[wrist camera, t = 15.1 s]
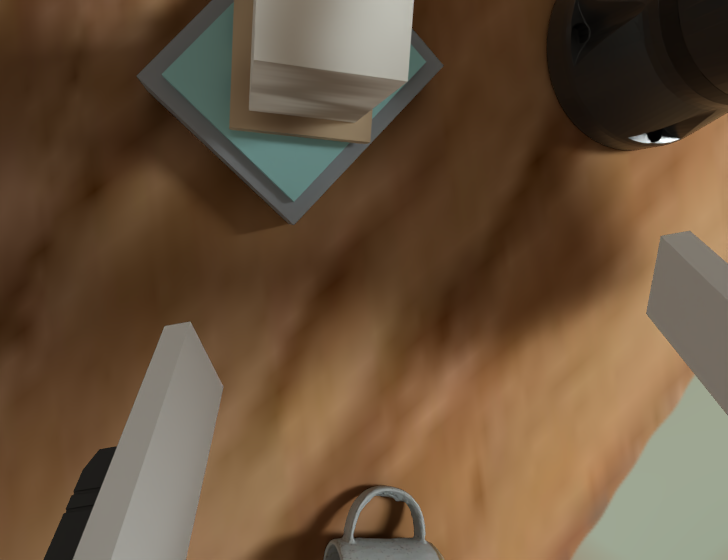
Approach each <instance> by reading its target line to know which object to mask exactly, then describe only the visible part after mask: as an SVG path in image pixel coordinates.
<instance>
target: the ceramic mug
mask: <svg viewBox="0 0 728 560" xmlns="http://www.w3.org/2000/svg"><path fill="white" fill-rule="evenodd" d="M375 495H377V496H387V497H391V498H394V499H395V500H396V501H403V502H405V503H406V504H407V505H408V507H409V508H410V511H411V515H412V518H413V524H414V537H413V538H393V539H379V538H377V539H375V538H353V533H354V529H355V526H356V522H357V519H358V516H359V514H360V512H361V510H362V509H363V507H364V506H365V505H366V504H367V502H369V501H370V500H371V499H372V497H374V496H375ZM324 560H444V558H443V556H442V555H441V553H440V552H439V551H438V549H437V548H436V547H435V546H434V545H433V544H432V543H429V542H427V541H426V540H425V524H424V518H423V515H422V512H421V509H420V507H419V505H418V504H417V503H416V501H415V500H414V499H413V498H412V496H410V495H409V494H408V493H406V492H405V491H403V490H401V489H398V488H395V487H391V486H375V487H371V488H369V489H367V490H365V491H364V492H362V493H361V494H360V495H359V496H358V497H357V498H356V500H355V501H354V502H353V504H352V506H351V508H350V510H349V513H348V516H347V519H346V523H345V528H344V535H343V537H342V538H338V539H333V540H331V541H330V542H329V543H328V545H327V547H326V550H325V554H324Z"/></svg>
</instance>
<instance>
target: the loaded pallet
mask: <svg viewBox="0 0 728 560" xmlns="http://www.w3.org/2000/svg"><path fill="white" fill-rule="evenodd" d="M413 5H414V0H234V14H233V41H232V68H231V94H230V121H229V129H230V130H237V131H246V132H256V133H265V134H274V135H284V136H293V137H303V138H312V139H321V140H331V141H340V142H349V143H359V144H368V143H370V140H371V125H372V111H373V108H374V107H376V106H377V105H378V104H380V103H381V102H382V101H383V100H385V99H386V98H387V97H388V96H390V95H391V94H392V93H394V92H395V91H396V90H397V89H399V88H400V87H401V86H403V85H404V84H405V83H406V82H408V72H409V58H410V45H411V32H412V18H413Z"/></svg>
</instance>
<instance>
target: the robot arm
mask: <svg viewBox="0 0 728 560" xmlns="http://www.w3.org/2000/svg"><path fill="white" fill-rule="evenodd" d="M547 59H548V67H549V73H550V77H551V81H552V85H553V88H554V90H555V93H556V96H557V98H558V100H559V102H560V104H561V106H562V108H563V109H564V111H565V112H566V114H567V115H568V117H569V118H570V119H571V121H572V122H573V123H574V124H575V125H576V126H577V127H578V128H579V129H580V130H581V131H582V132H583V133H584V134H586V135H587V136H588V137H590V138H591V139H593V140H595V141H596V142H598V143H600V144H602V145H605V146H608V147H611V148H615V149H620V150H640V149H646V148H652V147H658V146H663V145H667V144H670V143H673V142H676V141H679V140H681V139H683V138H685V137H687V136H689V135H690V134H692V133H694V132H695V131H697V130H699V129H701V128H702V127H704V126H706V125H707V124H709V123H711V122H713V121H714V120H716V119H718V118H719V117H721V116H723V115H724V114H726V113H728V0H556V2H555V5H554V7H553V10H552V14H551V18H550V22H549V28H548V36H547ZM646 314H647V315H648V317H649V318H650V319H651V320H652V322H653V323H654V324H655V325H656V326H657V328H658V329H659V330H660V331H661V333H662V334H663V335H664V336H665V338H666V339H667V340H668V341H669V343H670V344H671V345H672V346H673V348H674V349H675V350H676V351H677V353H678V354H679V355H680V356H681V358H682V359H683V360H684V361H685V363H686V364H687V365H688V366H689V368H690V369H691V370H692V371H693V373H694V374H695V375H696V376H697V377H698V379H699V380H700V381H701V382H702V384H703V385H704V386H705V388H706V389H707V390H708V391H709V393H710V394H711V395H712V396H713V398H714V399H715V400H716V401H717V403H718V404H719V405H720V406H721V408H722V409H723V410H724V411H725V413H726V414H727V415H728V264H727V263H726V262H725V261H724V260H723V259H722V258H721V257H719V256H718V255H717V254H716V253H715V252H714V251H713V250H711V249H710V248H709V247H708V246H707V245H706V244H704V243H703V242H702V241H701V240H700V239H699V238H698V237H696V236H695V235H694V234H693V233H692V232H691V231H686V232H680V233H675V234H669V235H664V236H661V238H660V243H659V248H658V254H657V259H656V264H655V269H654V275H653V280H652V285H651V291H650V296H649V301H648V306H647V312H646ZM222 391H223V385H222V383H221V381H220V379H219V377H218V375H217V373H216V371H215V369H214V367H213V365H212V363H211V361H210V359H209V357H208V355H207V353H206V351H205V349H204V347H203V345H202V343H201V341H200V339H199V337H198V335H197V333H196V331H195V329H194V327H193V325H192V323H191V321H190V322H185V323H179V324H174V325H168V326H164V329H163V331H162V334H161V336H160V339H159V342H158V344H157V347H156V349H155V352H154V354H153V357H152V359H151V362H150V364H149V367H148V369H147V372H146V375H145V377H144V380H143V382H142V385H141V387H140V390H139V392H138V395H137V397H136V400H135V403H134V405H133V408H132V410H131V413H130V415H129V418H128V420H127V423H126V425H125V428H124V430H123V433H122V436H121V438H120V441H119V443H118V446H116V447H111V448H105V449H99V451H98V452H97V453H96V454H95V456H94V457H93V458H92V459H91V460H90V462H89V463H88V464H87V465H86V467H85V468H84V469H83V471H82V473H81V475H80V478H79V480H78V482H77V485H76V487H75V489H74V495H72V496H71V498H70V501H69V503H68V505H67V507H66V513H64V514H63V516H62V519H61V521H60V523H59V526H58V528H57V530H56V532H55V535H54V537H53V539H52V542H51V544H50V546H49V548H48V551H47V553H46V555H45V558H44V560H186V556H187V552H188V547H189V543H190V538H191V533H192V529H193V524H194V520H195V515H196V510H197V506H198V501H199V497H200V492H201V488H202V483H203V478H204V474H205V469H206V465H207V460H208V455H209V451H210V446H211V442H212V437H213V433H214V428H215V423H216V419H217V414H218V410H219V405H220V400H221V396H222Z"/></svg>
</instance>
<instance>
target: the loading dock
mask: <svg viewBox="0 0 728 560" xmlns="http://www.w3.org/2000/svg"><path fill="white" fill-rule="evenodd" d="M233 14H234V0H212V1H211V2H210V3H209V4H208V5H207V6H206V7H205V8H204V9H203V10H202V11H201V12H200V13H199V14H198V15H197V16H196V17H195V18H194V19H193V20H192V21H191V22H190V23H189V24H188V25H187V26H186V27H185V28H184V29H183V30H182V31H181V32H180V33H179V34H178V35H177V36H176V37H175V38H174V39H173V40H172V41H171V42H170V43H169V44H168V45H167V46H166V47H165V48H164V49H163V50H162V51H161V52H160V53H159V54H158V55H157V56H156V57H155V58H154V59H153V60H152V61H151V62H150V63H149V64H148V65H147V66H146V67H145V68H144V69H143V70H142V71H141V72H140V73H139V74H138V75H137V78H138V79H139V80H140V82H141V83H142V84H143V86H144V87H145V88H146V90H147V91H148V92H149V93H150V94H151V95H153V96H154V97H155V98H156V99H157V100H158V101H159V102H160V103H161V104H162V105H163V106H164V107H165V108H166V109H167V110H168V111H169V112H171V113H172V114H173V115H174V116H175V117H176V118H177V119H178V120H179V121H180V122H181V123H182V124H183V125H184V126H185V127H186V128H188V129H189V130H190V131H191V132H192V133H193V134H194V135H195V136H196V137H197V138H198V139H199V140H200V141H201V142H202V143H203V144H204V145H206V146H207V147H208V148H209V149H210V150H211V151H212V152H213V153H214V154H215V155H216V156H217V157H218V158H219V159H220V160H221V161H223V162H224V163H225V164H226V165H227V166H228V167H229V168H230V169H231V170H232V171H233V172H234V173H235V174H236V175H237V176H238V177H240V178H241V179H242V180H243V181H244V182H245V183H246V184H247V185H248V186H249V187H250V188H251V189H252V190H253V191H254V192H255V193H256V194H258V195H259V196H260V197H261V198H262V199H263V200H264V201H265V202H266V203H267V204H268V205H269V206H270V207H271V208H272V209H273V210H275V211H276V212H277V213H278V214H279V215H280V216H281V217H282V218H283V219H284V220H285V221H286V222H287V223H288V224H292V225H294V224H295V223H296V222H297V221H298V220H299V219H300V218H301V217H302V216H303V215H304V214H305V213H306V212H307V211H308V210H309V208H310V207H311V206H312V205H313V204H314V203H315V202H316V201H317V200H318V199H319V198H320V197H321V196H322V195H323V194H324V193H325V191H326V190H327V189H328V188H329V187H330V186H331V185H332V184H333V183H334V182H335V181H336V180H337V179H338V178H339V177H340V176H341V174H342V173H343V172H344V171H345V170H346V169H347V168H348V167H349V166H350V165H351V164H352V163H353V162H354V161H355V160H356V159H357V157H358V156H359V155H360V154H361V153H362V152H363V151H364V150H365V149H366V148H367V147H368V146H369V145H370V144H371V143H372V142H373V140H374V139H375V138H376V137H377V136H378V135H379V134H380V133H381V132H382V131H383V130H384V129H385V128H386V127H387V126H388V124H389V123H390V122H391V121H392V120H393V119H394V118H395V117H396V116H397V115H398V114H399V113H400V112H401V111H402V110H403V109H404V107H405V106H406V105H407V104H408V103H409V102H410V101H411V100H412V99H413V98H414V97H415V96H416V95H417V94H418V93H419V92H420V90H421V89H422V88H423V87H424V86H425V85H426V84H427V83H428V82H429V81H430V80H431V79H432V78H433V77H434V76H435V75H436V73H437V72H438V71H439V70H440V69H441V68H442V67H443V66H444V65H443V64H442V63H441V62H440V61H439V59H438V58H437V57H436V56H435V55H434V54H433V52H432V51H431V50H430V49H429V48H428V47H427V45H426V44H425V43H424V42H423V41H422V39H421V38H420V37H419V36H418V35H417V34H416V32H415V31H414V30H413V29H412V32H411V45H410V58H409V72H408V82H406V83H405V84H404V85H403V86H401V87H400V88H399V89H397V90H396V91H395V92H394V93H392V94H391V95H390V96H388V97H387V98H386V99H385V100H383V101H382V102H381V103H380V104H378V105H377V106H376V107H374V108H373V111H372V125H371V140H370V143H368V144H359V143H349V142H340V141H331V140H321V139H312V138H303V137H293V136H284V135H274V134H265V133H256V132H246V131H237V130H230V129H229V121H230V94H231V68H232V41H233Z"/></svg>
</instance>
